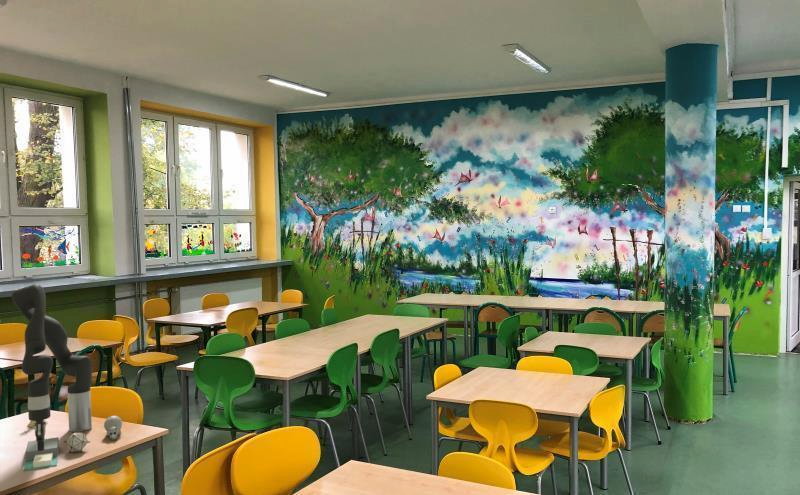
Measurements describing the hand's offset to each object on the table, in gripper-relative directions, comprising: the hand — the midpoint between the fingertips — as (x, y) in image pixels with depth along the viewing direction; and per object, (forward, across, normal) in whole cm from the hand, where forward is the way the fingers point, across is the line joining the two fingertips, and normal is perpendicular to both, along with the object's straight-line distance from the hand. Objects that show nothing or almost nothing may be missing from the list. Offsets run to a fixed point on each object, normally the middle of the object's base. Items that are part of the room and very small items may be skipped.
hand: (41, 450), depth 256 cm
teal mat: (+4, -3, 0) cm, 6 cm away
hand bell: (+5, +55, +4) cm, 55 cm away
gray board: (+4, +9, 0) cm, 10 cm away
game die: (+5, +6, -13) cm, 15 cm away
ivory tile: (+4, -3, -1) cm, 5 cm away
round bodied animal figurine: (+5, +19, -26) cm, 33 cm away
